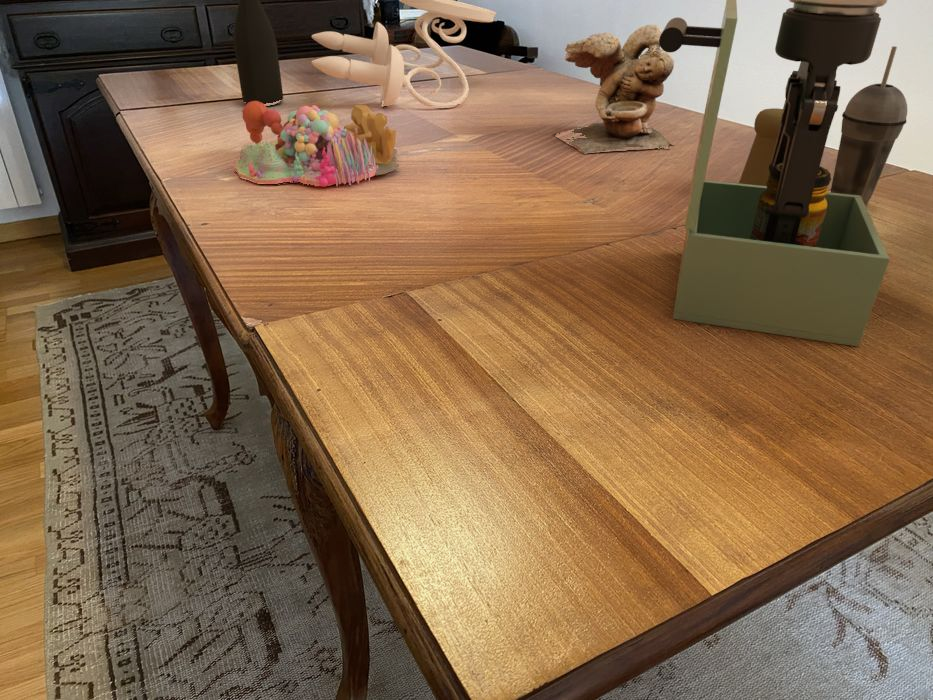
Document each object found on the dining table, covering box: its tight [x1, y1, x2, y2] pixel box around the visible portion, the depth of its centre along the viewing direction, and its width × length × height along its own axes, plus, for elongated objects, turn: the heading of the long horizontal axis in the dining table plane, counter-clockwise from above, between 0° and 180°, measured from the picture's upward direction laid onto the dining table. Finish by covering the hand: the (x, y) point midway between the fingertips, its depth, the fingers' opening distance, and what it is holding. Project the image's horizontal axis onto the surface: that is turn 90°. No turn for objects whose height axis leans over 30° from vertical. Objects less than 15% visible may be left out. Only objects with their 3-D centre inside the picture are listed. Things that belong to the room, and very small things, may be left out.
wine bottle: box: [233, 0, 284, 104], centre depth 134 cm, size 8×8×30 cm
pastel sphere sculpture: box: [233, 101, 400, 188], centre depth 106 cm, size 25×24×9 cm
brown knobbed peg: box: [738, 107, 783, 186], centre depth 97 cm, size 6×6×11 cm
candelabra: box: [310, 0, 497, 107], centre depth 150 cm, size 20×45×37 cm
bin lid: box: [659, 0, 738, 230], centre depth 66 cm, size 17×16×6 cm
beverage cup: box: [829, 45, 908, 207], centre depth 89 cm, size 7×7×20 cm
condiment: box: [750, 162, 832, 247], centre depth 69 cm, size 7×8×12 cm
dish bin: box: [672, 179, 890, 348], centre depth 70 cm, size 16×16×9 cm
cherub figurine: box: [564, 24, 675, 154], centre depth 117 cm, size 18×18×18 cm
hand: (767, 262), depth 71 cm, fingers closed on condiment, 6 cm apart
